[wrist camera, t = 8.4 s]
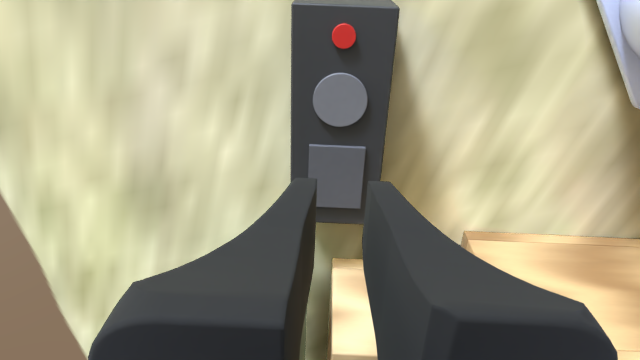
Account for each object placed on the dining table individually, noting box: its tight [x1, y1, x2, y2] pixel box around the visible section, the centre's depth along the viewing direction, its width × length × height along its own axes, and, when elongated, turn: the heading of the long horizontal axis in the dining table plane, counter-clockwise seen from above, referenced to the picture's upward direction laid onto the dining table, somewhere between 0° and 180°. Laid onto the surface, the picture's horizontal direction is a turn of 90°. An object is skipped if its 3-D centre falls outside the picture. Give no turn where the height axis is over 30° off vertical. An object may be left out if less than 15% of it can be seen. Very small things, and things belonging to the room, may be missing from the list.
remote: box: [291, 0, 400, 224], centre depth 20 cm, size 4×10×3 cm, turn 178°
